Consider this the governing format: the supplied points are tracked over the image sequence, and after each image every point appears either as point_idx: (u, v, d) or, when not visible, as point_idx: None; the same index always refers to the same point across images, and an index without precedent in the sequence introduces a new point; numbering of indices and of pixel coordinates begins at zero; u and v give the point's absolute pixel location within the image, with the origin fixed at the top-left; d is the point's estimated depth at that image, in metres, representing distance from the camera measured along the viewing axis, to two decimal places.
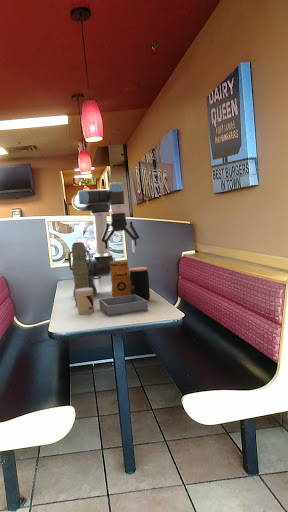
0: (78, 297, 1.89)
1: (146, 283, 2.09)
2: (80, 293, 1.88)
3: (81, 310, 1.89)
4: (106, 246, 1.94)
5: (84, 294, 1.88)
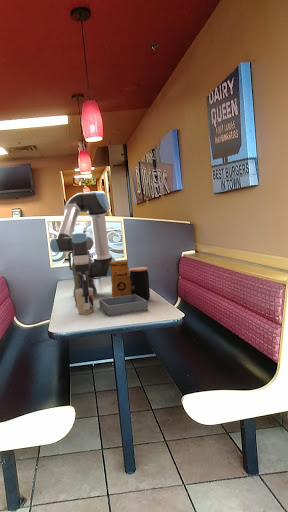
0: (78, 297, 1.88)
1: (146, 283, 2.09)
2: (80, 293, 1.88)
3: (81, 310, 1.89)
4: None
5: None
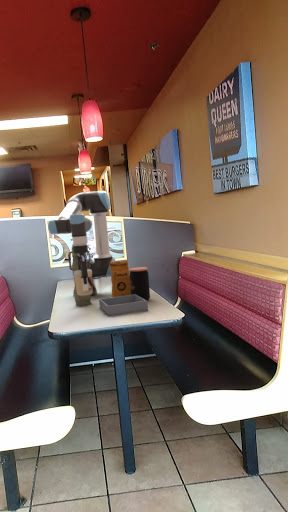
0: (77, 278, 1.88)
1: (146, 283, 2.09)
2: (79, 274, 1.87)
3: (79, 292, 1.89)
4: None
5: None
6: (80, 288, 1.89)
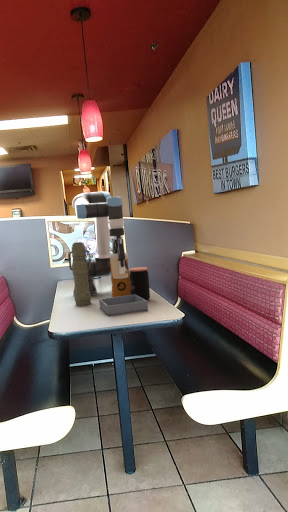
0: (113, 261, 1.87)
1: (146, 283, 2.09)
2: (116, 257, 1.86)
3: (116, 275, 1.88)
4: None
5: None
6: (116, 271, 1.87)
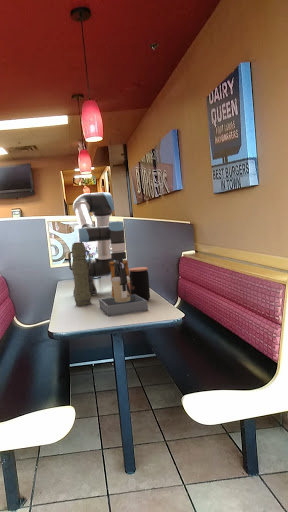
0: (115, 285, 1.88)
1: (146, 283, 2.09)
2: (118, 281, 1.87)
3: (118, 299, 1.89)
4: None
5: None
6: (118, 295, 1.88)
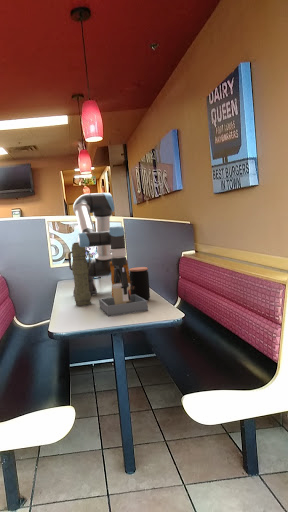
0: (116, 292, 1.89)
1: (146, 283, 2.09)
2: (118, 288, 1.88)
3: None
4: None
5: None
6: (119, 302, 1.89)
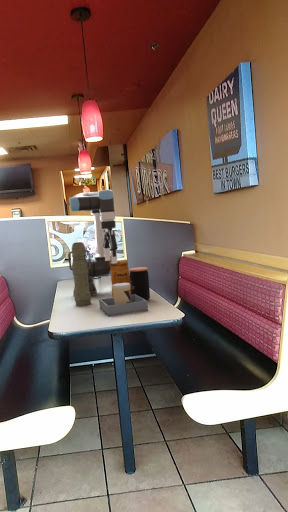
0: (116, 292, 1.89)
1: (146, 283, 2.09)
2: (118, 288, 1.88)
3: None
4: None
5: (122, 289, 1.88)
6: (119, 302, 1.89)
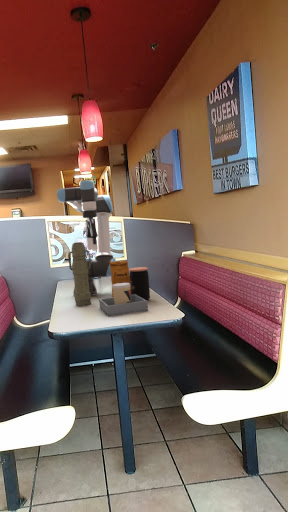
0: (116, 292, 1.89)
1: (146, 283, 2.09)
2: (118, 288, 1.88)
3: None
4: None
5: (122, 289, 1.88)
6: (119, 302, 1.89)
